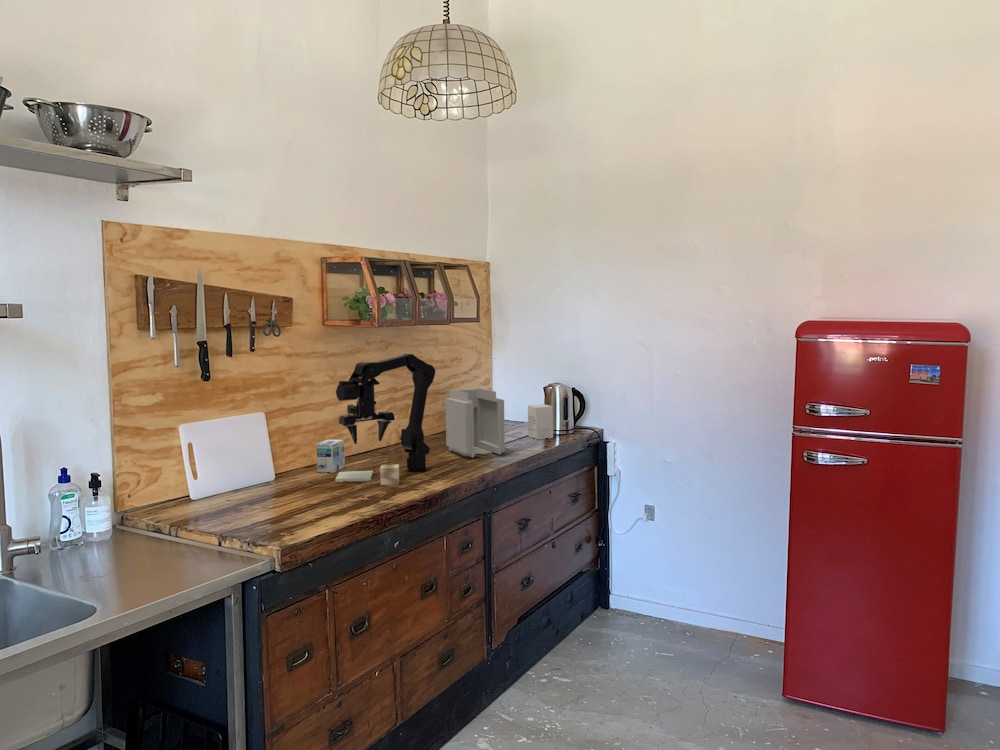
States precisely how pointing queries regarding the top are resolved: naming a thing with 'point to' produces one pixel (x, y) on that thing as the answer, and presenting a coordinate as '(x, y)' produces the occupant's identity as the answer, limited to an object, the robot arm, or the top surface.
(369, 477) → the sage board
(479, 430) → the gray open cabinet
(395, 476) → the birch cube
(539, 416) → the supplement box
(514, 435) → the top surface
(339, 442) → the light bulb box
